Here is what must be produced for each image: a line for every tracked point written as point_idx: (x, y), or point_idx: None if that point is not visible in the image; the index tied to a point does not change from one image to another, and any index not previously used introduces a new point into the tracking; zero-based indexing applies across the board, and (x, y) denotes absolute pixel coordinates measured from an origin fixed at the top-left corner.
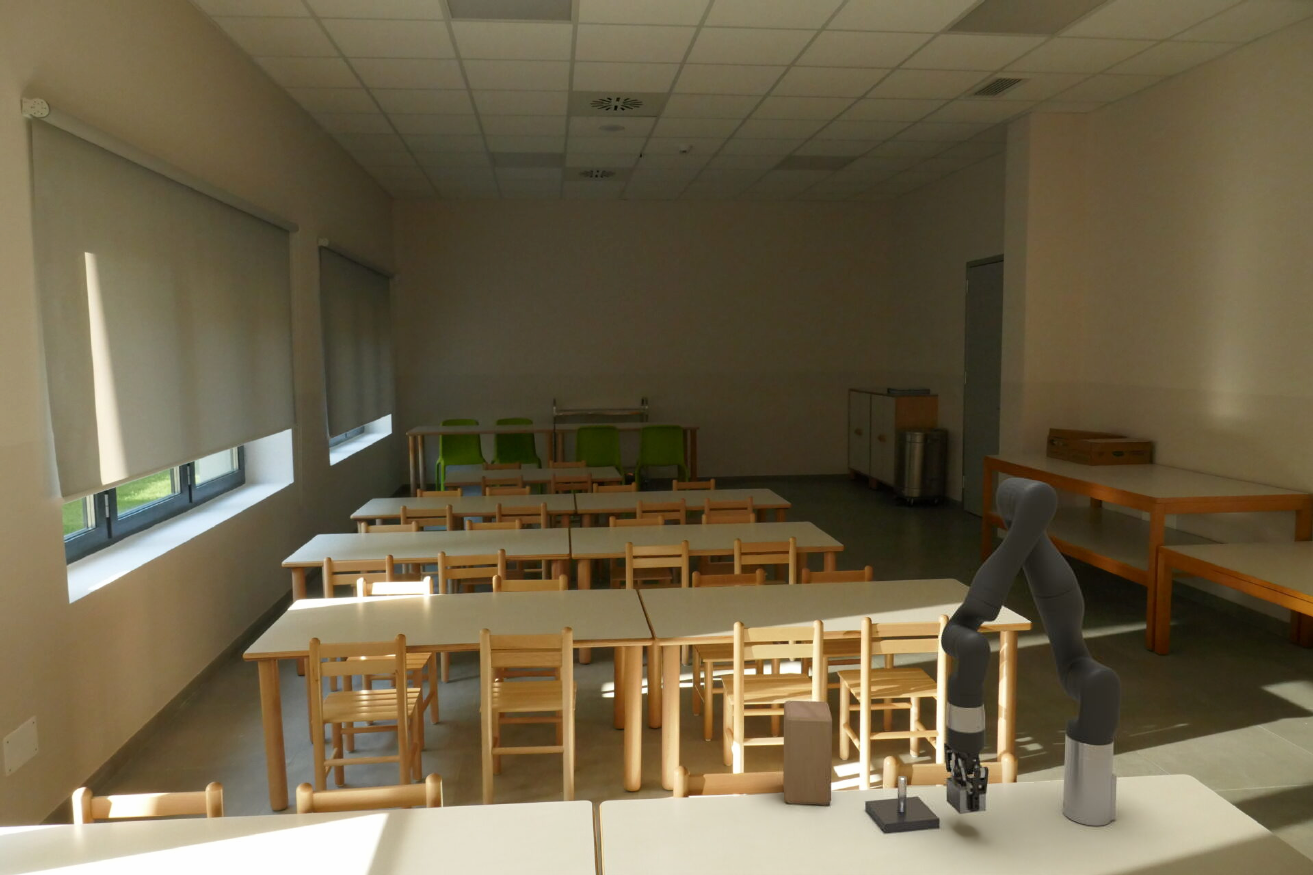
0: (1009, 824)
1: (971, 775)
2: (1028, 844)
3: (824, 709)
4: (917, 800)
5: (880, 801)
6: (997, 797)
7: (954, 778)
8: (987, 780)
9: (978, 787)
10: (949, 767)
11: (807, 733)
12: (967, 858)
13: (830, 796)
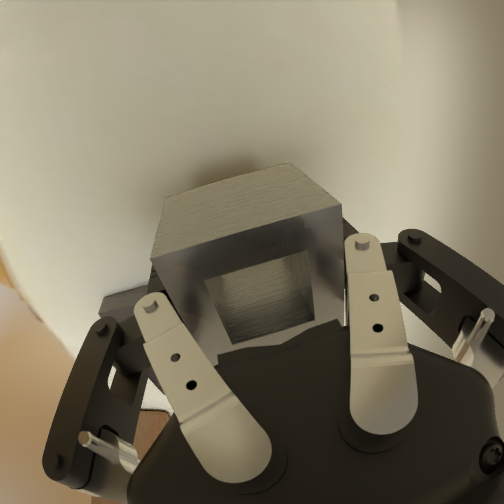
0: (178, 49)
1: (159, 259)
2: (308, 37)
3: None
4: (121, 317)
5: (155, 377)
6: (16, 77)
7: (215, 343)
8: (485, 273)
9: (388, 267)
10: (144, 377)
11: None
12: (367, 224)
13: (163, 422)
